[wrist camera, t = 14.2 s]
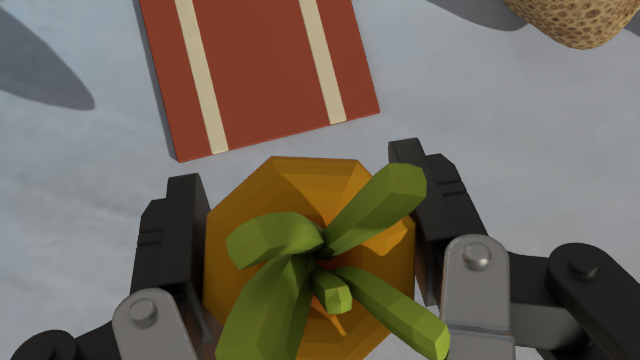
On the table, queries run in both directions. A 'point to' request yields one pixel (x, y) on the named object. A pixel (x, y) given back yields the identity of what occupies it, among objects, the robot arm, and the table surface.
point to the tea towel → (255, 70)
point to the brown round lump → (576, 19)
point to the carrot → (318, 263)
